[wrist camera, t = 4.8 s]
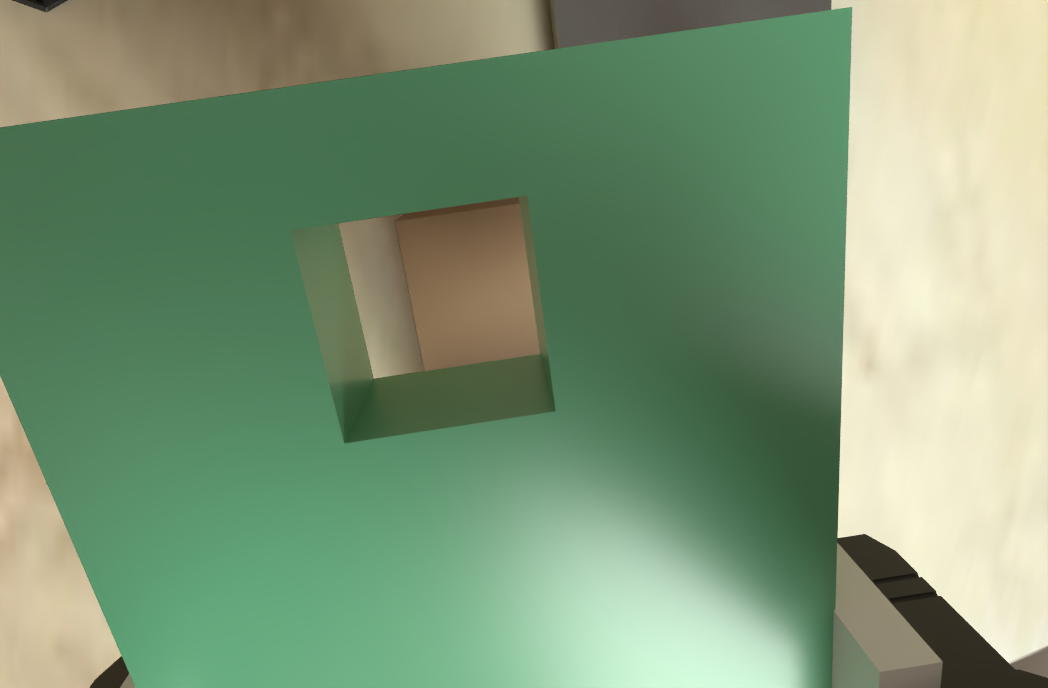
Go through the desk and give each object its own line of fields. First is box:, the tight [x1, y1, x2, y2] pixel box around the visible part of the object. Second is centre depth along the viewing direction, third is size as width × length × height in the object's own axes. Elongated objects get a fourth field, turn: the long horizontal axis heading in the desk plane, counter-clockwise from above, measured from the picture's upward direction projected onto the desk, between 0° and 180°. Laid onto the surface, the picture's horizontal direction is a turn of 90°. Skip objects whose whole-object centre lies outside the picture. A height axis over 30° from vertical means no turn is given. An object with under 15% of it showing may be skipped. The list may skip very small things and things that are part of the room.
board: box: [0, 7, 852, 688], centre depth 9 cm, size 17×9×2 cm, turn 8°
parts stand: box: [395, 197, 540, 371], centre depth 25 cm, size 12×5×5 cm, turn 8°
